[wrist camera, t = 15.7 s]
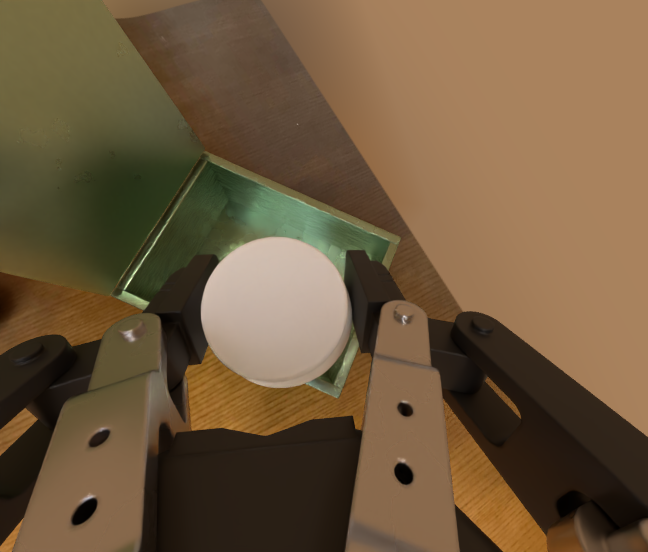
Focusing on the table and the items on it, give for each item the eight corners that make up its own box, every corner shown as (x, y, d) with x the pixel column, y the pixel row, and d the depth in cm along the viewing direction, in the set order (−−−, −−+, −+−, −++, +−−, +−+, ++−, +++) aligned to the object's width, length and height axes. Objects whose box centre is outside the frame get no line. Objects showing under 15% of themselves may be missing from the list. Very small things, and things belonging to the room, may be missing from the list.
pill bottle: (350, 335, 16) (410, 338, 7) (275, 385, 15) (235, 463, 6) (305, 263, 16) (308, 185, 8) (231, 306, 15) (137, 273, 7)
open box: (377, 260, 30) (401, 237, 23) (329, 379, 27) (338, 399, 20) (228, 195, 31) (204, 150, 23) (163, 305, 27) (109, 295, 20)
